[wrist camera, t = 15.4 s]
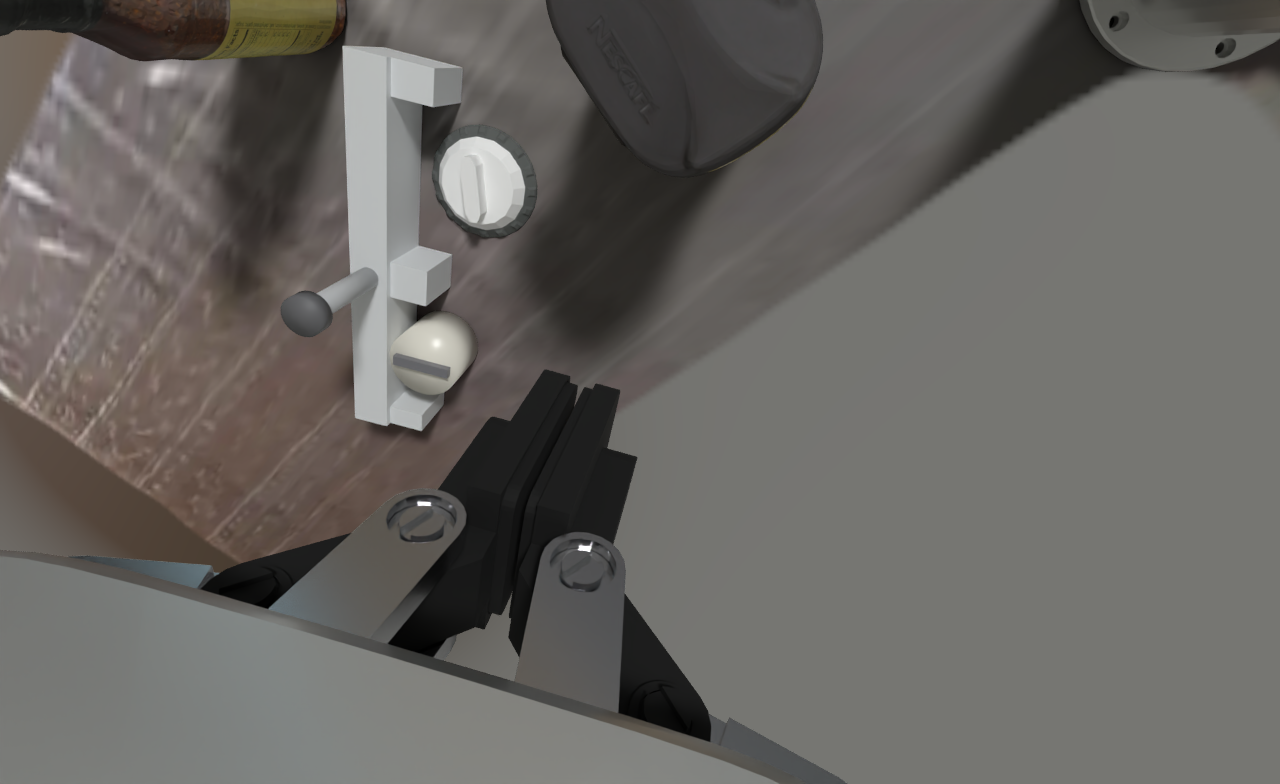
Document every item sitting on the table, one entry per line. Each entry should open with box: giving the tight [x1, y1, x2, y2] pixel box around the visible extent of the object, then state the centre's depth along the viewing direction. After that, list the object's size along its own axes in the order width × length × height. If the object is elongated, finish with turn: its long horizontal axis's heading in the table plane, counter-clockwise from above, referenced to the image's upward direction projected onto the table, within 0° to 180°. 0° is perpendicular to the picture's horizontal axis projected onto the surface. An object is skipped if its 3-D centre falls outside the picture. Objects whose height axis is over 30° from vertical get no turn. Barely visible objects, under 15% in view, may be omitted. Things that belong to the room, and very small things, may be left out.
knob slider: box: [390, 311, 478, 395], centre depth 44 cm, size 5×5×4 cm
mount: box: [281, 46, 463, 431], centre depth 38 cm, size 5×25×12 cm, turn 167°
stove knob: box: [432, 125, 537, 237], centre depth 39 cm, size 7×7×3 cm
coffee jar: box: [546, 0, 823, 177], centre depth 26 cm, size 10×8×19 cm
